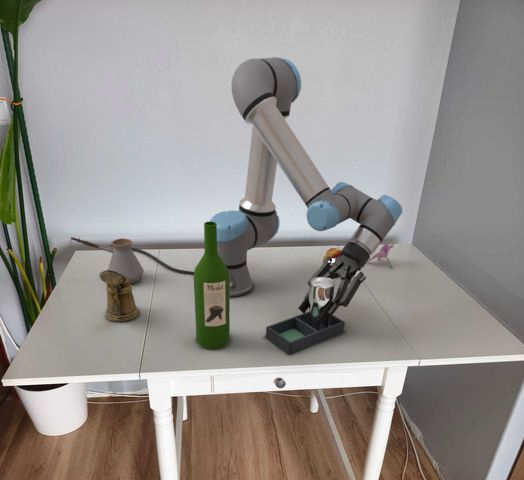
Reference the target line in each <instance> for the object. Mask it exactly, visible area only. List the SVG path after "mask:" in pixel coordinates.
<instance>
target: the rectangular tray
mask: <svg viewBox="0 0 524 480" xmlns="http://www.w3.org/2000/svg"><path fill="white" fill-rule="evenodd" d="M309 319H310V312H309V311H306V312H305V313H303V312H302V313H301V314H298V315H295V316H292V317H289V318H286V319H284V320H281V321H278V322H276V323H272V324H269V325H267V326H265V328H266V329H265V338H266V339H267V340H269V341H270V342H271V343H272V344H273V345H275V346H277V347H278V348H280V349H281V350H283V351H284V352H285V353H287V354H288V355H291V354H295V353H297V352H299V351H302V350H304V349H306V348H310V347H311V346H314V345H317V344H319V343H321V342H325V341H326V340H328V339H332V338H334V337H336V336H339V335H341V334H344V331H345V324H346V321H344V320H342V319H341V318H339V317H337V316H335V315H334V314H333V315H330V316H329V320H328V326H329V327H327V328H324V329H322V330H319V331H317V330H316V329H314V328H312V327H311V326H309V325H308V324H309Z"/></svg>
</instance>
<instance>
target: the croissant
mask: <svg viewBox="0 0 524 480" xmlns="http://www.w3.org/2000/svg"><path fill="white" fill-rule="evenodd" d="M341 250H342V249H340V248H337V247H331V248H329V249H327V250H326V252H325V255H324V256H323V259H322V262H323V264H324V262H325V260H326V258H327V257H328V256H330V257H331V258H333V259H336V258H337V257H339V256H340V254H341ZM331 268H332V267H331Z"/></svg>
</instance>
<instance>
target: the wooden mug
mask: <svg viewBox="0 0 524 480" xmlns="http://www.w3.org/2000/svg"><path fill="white" fill-rule="evenodd" d="M98 277H99V278H100V280H101V281H102V282H103V283H104V284H106V285H105V289H106V302H107V303H106V310H105V311H106V318H107V319H108V320H109V321H111V322H112V321H113V322H121V323H123V322H128V321H132V320H134V319H135V318H137V317H138V315H139V312H138V307H137V305H136V301H135V297H134V294H133V286H132V283H131V282H130V281H129V278H128V277H127V276H124V275H121V274H120V273H117V272H115V271H110V270H108V269H107V270H103V271H101V272H99V274H98Z"/></svg>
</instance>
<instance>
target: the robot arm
mask: <svg viewBox="0 0 524 480" xmlns="http://www.w3.org/2000/svg"><path fill="white" fill-rule="evenodd" d="M301 90H302V79H301V75H300V72H299V69H298V68H297V66H296V65H295V64H294V62H292V61H291V60H289V59H287V58H282V57H275V56H273V57H263V58H249V59H247V60H244V61H243V62H241V63H240V64H239V65H238V66H237V68H236V69H235V71H234V73H233V75H232V79H231V95H232V99H233V102H234V104H235V107H236V109H237V110H238V112H239V114H240V116H241V118H242V119H243V120H244V122H245V123H246V124H247V125H251V126H252V127H251V138H250V147H249V156H248V165H247V174H246V182H245V183H246V184H245V193H244V197H242V198H241V199H240V201H239V203H238V210H227V211H225V210H224V211H220V212H218V213H216V214H214V215H213V216H211V218H210V219H209V222H215V223H217V252H218V255H219V256H220V258H221V259H222V261H223V262H224V264H225V265H226V267H227V268H228V271H229V298H236V297H241V296H244V295H246V294H248V293H249V292H250V291H252V288H253V280H252V277H251V275H250V271H249V268H248V251H251V250H252V249H254V248H256V247H259V246H260V245H263V244H266V243H268V242H269V241H270V240H272V239H273V238H274V237H276V235H277V234H278V232H279V229H280V217H279V215H278V212H277V210H276V207H277V206H276V204H275V203H274V201H273V195H274V188H275V180H276V173H277V169H278V168H277V166H279V167H280V169H281V170H282V172H283V173H284V175H285V176H286V178H287V179H288V181H289V182H290V184H291V185H292V187H293V189H294V190H295V192H296V193H297V194H298V196H299V197H300V199H301V201H302V202H303V203H304V205H305V206H306V208H307V210H306V219H307V220H306V221H307V224H308V225H309V226H310V228H311V229H313V230H314V231H317V232H324V231H327V230H330V229H333V228H335V227H337V225H340V224H341V223H343V222H346V221H347V220H349V219H351V220H352V221H353V222H356V223H357V224H360V225H359V226H358V227H357V229H356V230H355V231H354V232H353V234H352V235H351V236H350V238H349V241H347V242H346V244H345V245H344V246H343V247H342V249H340V250H341V254H340V256H339V257H337V258H336V259H333V258H331V257H330V256H328V257H327V258H326V260H325V262H324V263H323V264H322V265H320V267H319V268H318V269H317V271H315V273H314V274H312V276H311V277H310V279H308V281H307V283H306V284H307V285H308V287H309V289H308V291H307V292H306V293H305V295H304V297H303V301H302V302H301V303H300V305H299V306H298V307H297V309H298V310H299V311H300V312H301V313H302V314H303V313H306V312H308V310H309V290H310V285H311V280H312V279H313V278H316V277H327V278H331V279H333V280H335V279H337V278H340V281H339V285H338V288H337V291H336V292H335V297H334V299H333V301H334V302H333V301H330V302H329V303H328V305H327V306H326V307H325V309H324V310H323V312H322V313H321V314H320V316H319V317H318V318H317V321H318V322H319V323H320V324H322V325H323V324H324V323H325V322H326V320H327V319H328V318H329V316H330V315H334V314H335V313H336V311H337V310H338V309H339V307H344V308H347V307H348V306H349V305H350V303H351V300H352V299H353V298H354V296H355V294H356V293H357V291H358V289H359V288H360V286H361V284H362V283H363V282H364V281H366V279H367V276H366V274H365V273H364V272H363V271H361V269H362V268H364V267H365V266H366V264H368V263H367V262H368V261H369V260H370V259H371V256H373V255H374V253H375V252H376V251H377V249H378V248H379V246H380V245H381V243H382V242H383V241H384V239H385V238H386V236H387V235H388V234H389V233H390V232H391V230H392V229H393V228H394V226H395V225H396V223H397V222H398V220H399V218H400V217H401V215H402V214H403V206H402V205H401V203H400V202H399V201H398V200H397V199H395V198H393V197H392V196H389V195H387V194H383V195H380V197H379V198H377V199H375V198H373V197H372V196H370V195H368V194H367V193H364V192H363V191H362V190H359V189H358V188H356V187H354V186H353V185H352V184H349V183H347V182H345V181H340V182H337V183H336V184H335V185H334V186H333V187H332V189H331V188H330V186H329V184H328V183H327V182H326V180H325V179H324V177H323V176H322V174H321V173H320V171H319V169H318V168H317V167H316V165H315V164H314V162H313V160H312V159H311V157H310V156H309V154H308V153H307V151H306V149H305V148H304V146H303V145H302V143H301V142H300V140H299V139H298V138H297V136H296V134H295V132H294V131H293V130H292V128H291V127H290V125H289V123H288V122H287V120H286V119H287V118H289V117H290V114H291V108H292V107H291V106H292V104H293V103H294V102H295V101H296V100H297V98H299V95H300V93H301ZM110 247H113V246H112V244H111V243H110ZM131 249H132V251H135V252H138V253H141V254H143V255H146V256H148V257H149V258H151V259H153V260H154V261H156V262H157V263H159V265H162V266H163V267H165V268H167V269H168V270H171V271H173V272H177V273H181V274H189V275H194V271H192V270H184V269H179V268H175V267H173V266H171V265H168V264H167V263H165V262H163V261H162V260H160V259H159V258H158V257H156V256H154V255H153V254H151V253H149V252H148V251H145V250H142V249H139V248H136V247H132V246H131ZM331 267H332V268H331Z"/></svg>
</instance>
